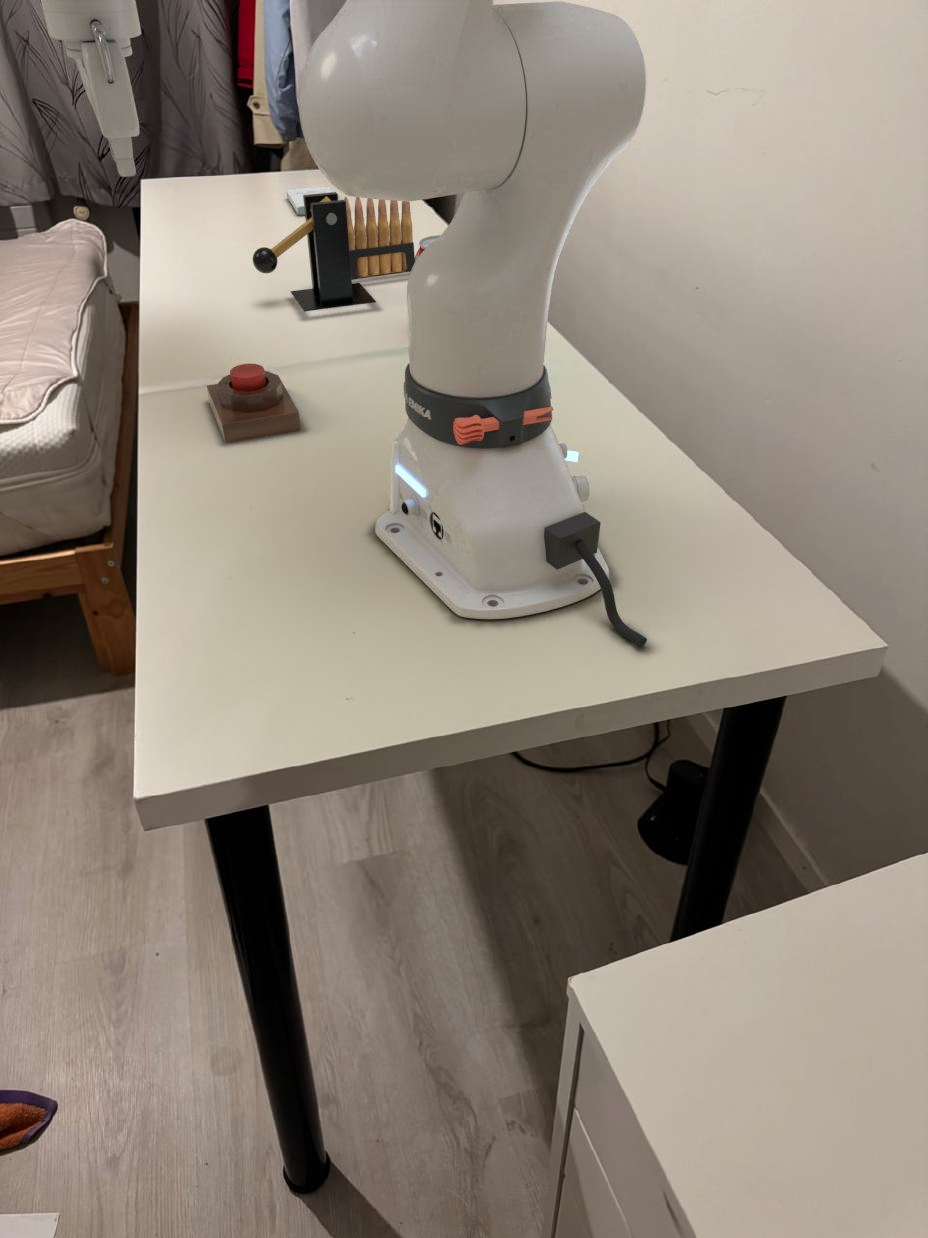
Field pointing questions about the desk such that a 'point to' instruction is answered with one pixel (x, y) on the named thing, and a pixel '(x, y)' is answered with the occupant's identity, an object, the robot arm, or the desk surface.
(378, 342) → the desk surface
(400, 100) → the robot arm
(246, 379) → the button
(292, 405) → the button block
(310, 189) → the hard drive
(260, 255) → the lever
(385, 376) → the desk surface
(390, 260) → the ammunition clip
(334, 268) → the bracket
